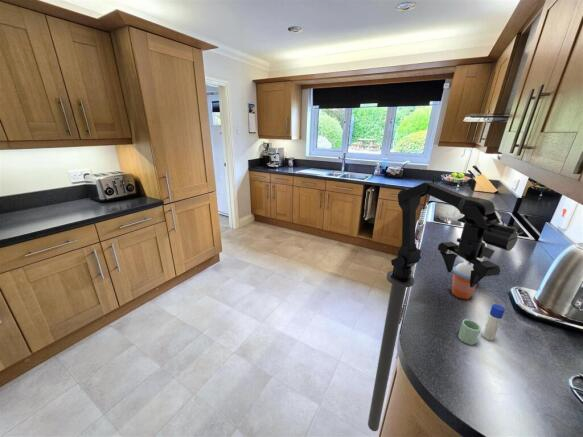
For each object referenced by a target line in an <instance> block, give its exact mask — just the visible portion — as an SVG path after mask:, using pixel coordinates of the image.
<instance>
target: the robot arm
mask: <svg viewBox="0 0 583 437" xmlns="http://www.w3.org/2000/svg"><path fill="white" fill-rule="evenodd" d="M427 195H428V196H430V197H432V198H434V199H437V200H439V201H442V202H443V203H446V204H448V205H450V206H452V207H454V208H456V209H457V210H458V212H459V213H460V214H462V215H463V216H462V217H460V218H457V221H458V222H459V223H462V224H463V226H462V231H461V234H460V238H459V237H457V238H456V242H457V243H458V244H457V243H455V242H453V241H444V242H440V243H439V244H438V247H437V251H439V254H441V257H442V259H443V262H444V264H445V265H444V266H445V268H446V270H447V273H452V272H453V268H454V267H455V261H456V259H457V258H458V257H459V258H461V259H463V260H464V259H465V260H466V261H468V262H470V263H472V264H474V265H473V270H471V277H470V287H474V286H475V285H476V284H477V285H478V283H480V281H481V280H482V279H483V278H485V277H491V276H493V277H494V276H499V275H500V274H501V267H500V266H499V265H498V264H496V263H494V262H492V261H490V259H492V257H493V255H494V253H495V251H496V250H495V249H492V248H490V247H488V246H487V247H486V246H485V243H486V244H487V245H490V246H492V247H496V248H498V249H501V250H504V251H507V252H510V251H512V249H513V248H514V247H515V246H516V244H517V242H518V239H519V238H518V232H517V231H518V228H517V227H514V226H508V225H504V224H501V221H500V219H499V217H498V215H497V213H496V211H495V210H496V208H495V204H494V202H493V201H491V200H489V199H485V198H482V197H475V196H468V195H465V194H462V193H460V192H457V191H454V190H453V189H450V188H447V187H444V186H442V185H439V184H437V183H436V182H433V181H426V182H425V181H424V182H421V183H420V184H418V185H415V186H413V187H410V188H405V189H401V190H399V191H398V193H397V202H398V206H399V208H400V209H401V214H402V215H401V245H400V247H399V249H398V250H397V257H395V258H392V259H391V260H390V264H391V266H393V268H392V271H393V273H392V275H390V277H392V278H394V279H396V280H398V281H400V282H402V283H405V282H406V281H408V280H409V279H410V278H411V276H412V272H413V271H412V267H413V266H415V265H416V264H418V263H419V261H420V260H421V259H422V257H421V252H422V250H421V248H418V247H417V245H416V223H417V222H416V220H417V217H416V216H417V210H418V208H419V206H420V204H421V199H422V198H423V197H426V196H427ZM482 240H483V241H484V242H485V243H483V242H482ZM483 256H484V258H487V259H489V260H483V261H479V260H477V258H483Z"/></svg>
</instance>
